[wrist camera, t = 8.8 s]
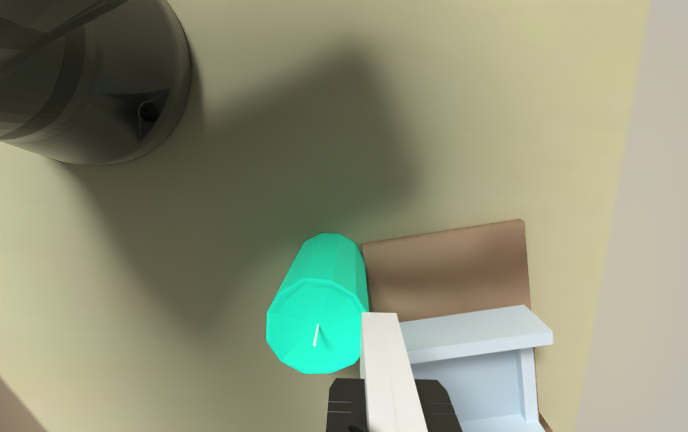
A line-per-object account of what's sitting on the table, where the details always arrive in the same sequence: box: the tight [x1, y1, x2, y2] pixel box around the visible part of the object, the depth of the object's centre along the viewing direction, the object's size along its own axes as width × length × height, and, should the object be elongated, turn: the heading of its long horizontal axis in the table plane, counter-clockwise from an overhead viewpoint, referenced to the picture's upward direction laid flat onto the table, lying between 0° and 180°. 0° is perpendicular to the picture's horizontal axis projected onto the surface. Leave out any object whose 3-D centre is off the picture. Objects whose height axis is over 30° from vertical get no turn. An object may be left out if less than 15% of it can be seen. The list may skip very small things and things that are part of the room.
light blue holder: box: [399, 305, 553, 432], centre depth 28 cm, size 11×11×5 cm
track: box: [362, 219, 553, 432], centre depth 28 cm, size 20×13×7 cm, turn 10°
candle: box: [266, 233, 369, 374], centre depth 24 cm, size 6×6×12 cm
